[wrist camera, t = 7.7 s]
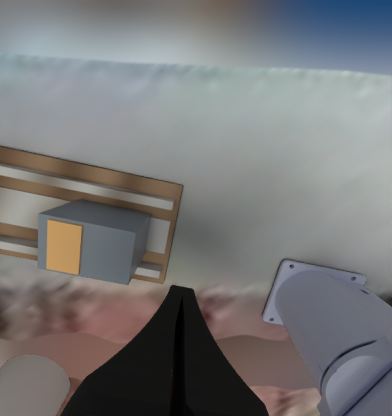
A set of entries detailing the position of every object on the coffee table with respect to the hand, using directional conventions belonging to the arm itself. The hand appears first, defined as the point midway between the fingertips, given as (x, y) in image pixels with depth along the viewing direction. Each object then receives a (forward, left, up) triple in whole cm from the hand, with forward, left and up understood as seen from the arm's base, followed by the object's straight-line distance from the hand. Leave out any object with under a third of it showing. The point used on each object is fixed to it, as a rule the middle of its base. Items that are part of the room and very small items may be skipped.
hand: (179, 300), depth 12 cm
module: (+7, 0, -8) cm, 11 cm away
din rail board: (+13, 0, -9) cm, 16 cm away
